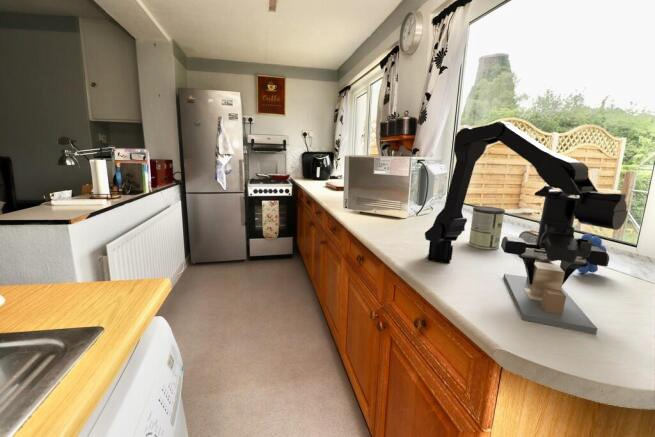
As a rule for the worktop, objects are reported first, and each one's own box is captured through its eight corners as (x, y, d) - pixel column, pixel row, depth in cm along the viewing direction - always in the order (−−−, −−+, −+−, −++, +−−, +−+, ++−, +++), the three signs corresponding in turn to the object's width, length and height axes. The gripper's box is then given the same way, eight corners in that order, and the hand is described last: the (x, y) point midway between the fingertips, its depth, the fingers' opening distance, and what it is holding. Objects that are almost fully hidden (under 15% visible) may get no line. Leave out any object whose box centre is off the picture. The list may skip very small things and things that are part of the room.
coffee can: (470, 240, 121) (475, 205, 118) (499, 245, 116) (505, 208, 113) (466, 246, 113) (471, 208, 110) (497, 251, 107) (504, 212, 104)
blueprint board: (522, 319, 61) (526, 295, 60) (503, 277, 83) (506, 259, 82) (596, 334, 57) (602, 308, 56) (555, 285, 79) (559, 266, 78)
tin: (558, 265, 95) (563, 239, 94) (549, 265, 95) (554, 239, 93) (522, 250, 110) (526, 227, 108) (514, 250, 110) (518, 227, 108)
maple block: (532, 293, 68) (537, 268, 67) (527, 285, 73) (532, 261, 72) (559, 298, 67) (565, 272, 65) (552, 289, 71) (557, 264, 70)
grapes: (579, 280, 84) (589, 237, 81) (558, 270, 90) (566, 231, 88) (615, 279, 86) (625, 237, 83) (591, 270, 92) (600, 231, 90)
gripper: (515, 221, 62) (503, 292, 66) (632, 232, 56) (612, 311, 59) (505, 212, 73) (495, 274, 76) (604, 221, 66) (588, 288, 69)
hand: (543, 286), depth 70 cm, fingers closed on maple block, 5 cm apart
